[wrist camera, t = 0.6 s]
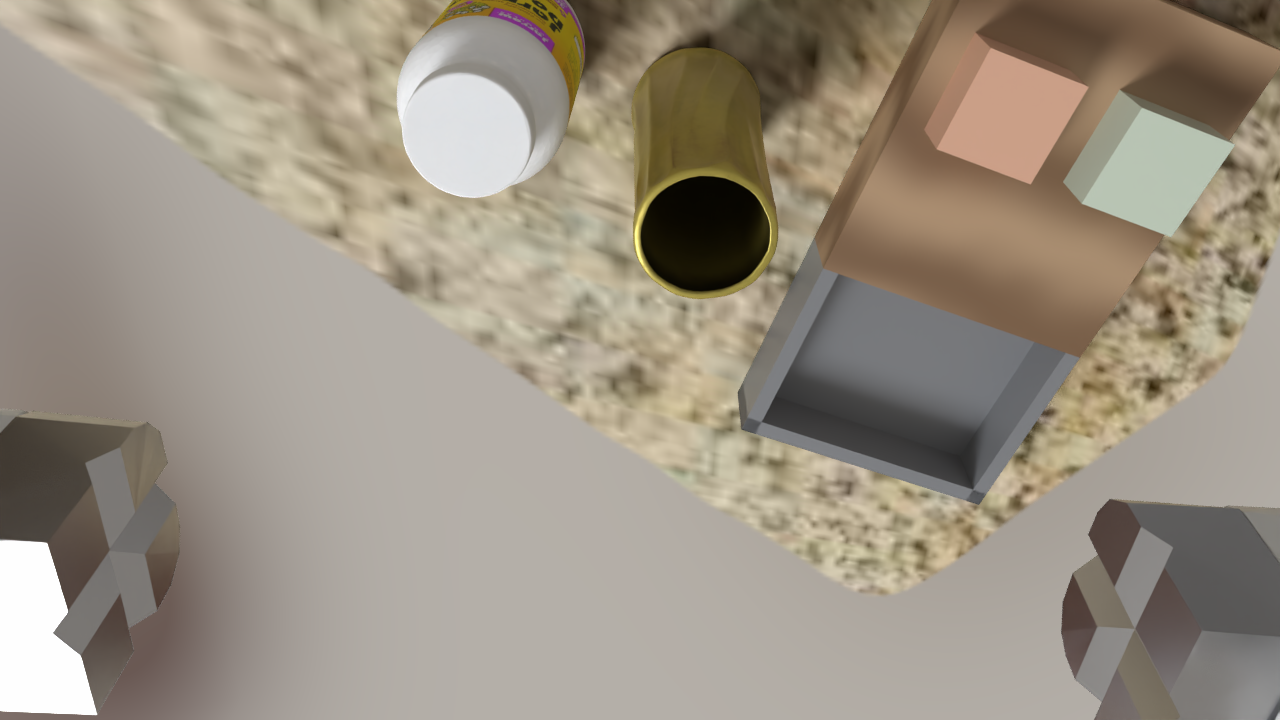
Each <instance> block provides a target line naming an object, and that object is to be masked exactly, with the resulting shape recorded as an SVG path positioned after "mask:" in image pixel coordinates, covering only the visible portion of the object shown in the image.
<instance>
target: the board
mask: <svg viewBox="0 0 1280 720" xmlns="http://www.w3.org/2000/svg"><path fill="white" fill-rule="evenodd" d="M975 32H976V33H978V34H981V35H983V36H986V37H988V38H991V39H993V40H996V41H998V42H1001V43H1003V44H1006V45H1008V46H1011V47H1013V48H1016V49H1018V50H1021V51H1023V52H1026V53H1028V54H1031V55H1033V56H1036V57H1039V58H1041V59H1044V60H1046V61H1049V62H1051V63H1054V64H1056V65H1059V66H1061V67H1064V68H1066V69H1069V70H1070V71H1071V72H1072V73H1073V74H1075V75H1076V76H1077V77H1078V78H1079V79H1080V80H1082V81H1083V82H1084V83H1085V84H1086V85H1087V86H1089V88H1088V89H1087V91H1086V93H1085V94H1084V96H1083V98H1082V99H1081V101H1080V103H1079V104H1078V106H1077V108H1076V109H1075V111H1074V113H1073V114H1072V116H1071V118H1070V119H1069V121H1068V123H1067V124H1066V126H1065V128H1064V129H1063V131H1062V133H1061V134H1060V136H1059V138H1058V140H1057V141H1056V143H1055V145H1054V146H1053V148H1052V150H1051V151H1050V153H1049V155H1048V156H1047V158H1046V160H1045V161H1044V163H1043V165H1042V166H1041V168H1040V170H1039V171H1038V173H1037V175H1036V176H1035V178H1034V180H1033V181H1032V183H1031V184H1028V183H1025V182H1023V181H1020V180H1017V179H1015V178H1012V177H1009V176H1007V175H1004V174H1001V173H999V172H996V171H993V170H991V169H988V168H985V167H983V166H980V165H977V164H975V163H972V162H969V161H967V160H964V159H961V158H959V157H956V156H953V155H951V154H948V153H945V152H943V151H940V150H937V149H936V148H935V146H934V144H933V143H932V141H931V140H930V138H929V136H928V135H927V133H926V132H925V130H924V129H925V127H926V125H927V123H928V121H929V119H930V118H931V116H932V114H933V112H934V110H935V108H936V106H937V104H938V102H939V100H940V98H941V97H942V95H943V93H944V91H945V89H946V87H947V85H948V83H949V81H950V79H951V77H952V76H953V74H954V72H955V70H956V68H957V66H958V64H959V62H960V60H961V58H962V56H963V55H964V53H965V51H966V49H967V47H968V45H969V43H970V41H971V39H972V37H973V35H974V34H975ZM1279 67H1280V50H1279V49H1278V48H1276V47H1274V46H1272V45H1270V44H1268V43H1266V42H1264V41H1262V40H1261V39H1259V38H1257V37H1255V36H1253V35H1251V34H1249V33H1247V32H1245V31H1242V30H1240V29H1237V28H1235V27H1233V26H1230V25H1228V24H1225V23H1223V22H1221V21H1218V20H1216V19H1213V18H1211V17H1209V16H1206V15H1204V14H1201V13H1199V12H1197V11H1194V10H1192V9H1189V8H1187V7H1185V6H1182V5H1180V4H1177V3H1175V2H1173V1H1170V0H932V1H931V3H930V5H929V7H928V9H927V11H926V13H925V15H924V17H923V19H922V21H921V23H920V25H919V27H918V29H917V32H916V34H915V36H914V38H913V40H912V42H911V44H910V46H909V48H908V50H907V52H906V54H905V56H904V58H903V60H902V62H901V64H900V66H899V68H898V70H897V72H896V74H895V76H894V78H893V80H892V82H891V84H890V86H889V88H888V90H887V92H886V94H885V96H884V98H883V100H882V102H881V104H880V106H879V108H878V110H877V112H876V114H875V116H874V118H873V120H872V122H871V124H870V127H869V129H868V131H867V133H866V135H865V137H864V139H863V141H862V143H861V145H860V147H859V149H858V151H857V153H856V155H855V157H854V159H853V161H852V163H851V165H850V167H849V169H848V171H847V173H846V175H845V177H844V179H843V181H842V183H841V185H840V187H839V189H838V191H837V193H836V195H835V197H834V199H833V201H832V203H831V205H830V207H829V209H828V211H827V213H826V215H825V217H824V219H823V222H822V224H821V226H820V228H819V230H818V232H817V234H816V236H815V241H816V245H817V248H818V252H819V255H820V259H821V262H822V266H823V269H826V270H829V271H832V272H835V273H838V274H840V275H843V276H846V277H849V278H852V279H855V280H858V281H861V282H863V283H866V284H869V285H872V286H875V287H878V288H881V289H884V290H886V291H889V292H892V293H895V294H898V295H901V296H904V297H907V298H909V299H912V300H915V301H918V302H921V303H924V304H927V305H930V306H932V307H935V308H938V309H941V310H944V311H947V312H950V313H953V314H955V315H958V316H961V317H964V318H967V319H970V320H973V321H976V322H978V323H981V324H984V325H987V326H990V327H993V328H996V329H998V330H1001V331H1004V332H1007V333H1010V334H1013V335H1016V336H1019V337H1021V338H1024V339H1027V340H1030V341H1033V342H1036V343H1039V344H1042V345H1044V346H1047V347H1050V348H1053V349H1056V350H1059V351H1062V352H1065V353H1067V354H1070V355H1073V356H1076V357H1079V358H1080V357H1081V355H1082V354H1083V352H1084V351H1085V350H1086V348H1087V347H1088V345H1089V344H1090V342H1091V341H1092V339H1093V338H1094V336H1095V335H1096V334H1097V332H1098V331H1099V329H1100V328H1101V326H1102V325H1103V323H1104V322H1105V320H1106V319H1107V318H1108V316H1109V315H1110V313H1111V312H1112V310H1113V309H1114V307H1115V306H1116V304H1117V303H1118V302H1119V300H1120V299H1121V297H1122V296H1123V294H1124V293H1125V291H1126V290H1127V288H1128V287H1129V286H1130V284H1131V283H1132V281H1133V280H1134V278H1135V277H1136V275H1137V274H1138V272H1139V271H1140V269H1141V268H1142V267H1143V265H1144V264H1145V262H1146V261H1147V259H1148V258H1149V256H1150V255H1151V253H1152V252H1153V251H1154V249H1155V248H1156V246H1157V245H1158V243H1159V242H1160V240H1161V239H1162V237H1163V236H1164V234H1161V233H1159V232H1156V231H1153V230H1151V229H1148V228H1145V227H1143V226H1140V225H1137V224H1135V223H1132V222H1129V221H1127V220H1124V219H1121V218H1119V217H1116V216H1113V215H1111V214H1108V213H1105V212H1103V211H1100V210H1097V209H1095V208H1092V207H1089V206H1087V205H1084V204H1082V203H1081V202H1080V201H1079V200H1078V199H1077V198H1076V196H1075V195H1074V194H1073V193H1072V192H1071V191H1070V190H1069V188H1068V187H1067V186H1066V185H1065V184H1064V183H1063V181H1064V180H1065V178H1066V176H1067V175H1068V173H1069V171H1070V170H1071V168H1072V167H1073V165H1074V163H1075V162H1076V160H1077V158H1078V157H1079V155H1080V153H1081V152H1082V150H1083V149H1084V147H1085V145H1086V144H1087V142H1088V140H1089V139H1090V137H1091V136H1092V134H1093V132H1094V131H1095V129H1096V127H1097V126H1098V124H1099V122H1100V121H1101V119H1102V118H1103V116H1104V114H1105V113H1106V111H1107V109H1108V108H1109V106H1110V105H1111V103H1112V101H1113V100H1114V98H1115V96H1116V95H1117V93H1118V91H1119V90H1122V91H1124V92H1127V93H1129V94H1132V95H1134V96H1137V97H1139V98H1142V99H1144V100H1147V101H1149V102H1152V103H1154V104H1157V105H1159V106H1162V107H1164V108H1167V109H1169V110H1172V111H1174V112H1177V113H1179V114H1182V115H1185V116H1187V117H1190V118H1192V119H1195V120H1197V121H1200V122H1202V123H1205V124H1207V125H1209V126H1211V127H1212V128H1213V129H1215V130H1216V131H1217V132H1219V133H1220V134H1221V135H1223V136H1224V137H1225V138H1227V139H1228V140H1230V138H1231V137H1232V136H1233V134H1234V133H1235V131H1236V130H1237V128H1238V127H1239V125H1240V124H1241V122H1242V121H1243V120H1244V118H1245V117H1246V115H1247V114H1248V112H1249V111H1250V109H1251V108H1252V106H1253V105H1254V104H1255V102H1256V101H1257V99H1258V98H1259V96H1260V95H1261V93H1262V92H1263V90H1264V89H1265V87H1266V86H1267V85H1268V83H1269V82H1270V80H1271V79H1272V77H1273V76H1274V74H1275V73H1276V71H1277V70H1278V69H1279Z"/></svg>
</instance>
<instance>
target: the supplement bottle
mask: <svg viewBox="0 0 1280 720" xmlns="http://www.w3.org/2000/svg"><path fill="white" fill-rule="evenodd" d="M584 62H585V42H584V35H583V31H582V28H581V25H580V22H579V20H578V18H577V16H576V14H575V12H574V10H573V9H572V7H571V6H570V4H569V3H568V2H567V0H453V1H452V2H451V3H450V4H449V6H448V7H447V8H446V9H445V10H444V12H443V13H442V14H441V15H440V16H439V18H438V19H437V20H436V21H435V22H434V24H433V25H432V26H431V27H430V28H429V30H428V31H427V32H426V33H425V34H424V35H423V36H422V38H421V39H420V40H419V41H418V42H417V43H416V45H415V46H414V47H413V49H412V50H411V51H410V53H409V54H408V56H407V58H406V60H405V62H404V64H403V67H402V69H401V73H400V76H399V80H398V87H397V108H398V114H399V119H400V123H401V125H402V136H403V142H404V146H405V149H406V152H407V155H408V157H409V158H410V160H411V162H412V164H413V165H414V167H415V168H416V169H417V171H418V172H419V173H420V174H421V175H422V176H423V177H424V178H425V179H426V180H427V181H428V182H429V183H431V184H432V185H434V186H435V187H437V188H439V189H440V190H442V191H444V192H447V193H450V194H453V195H456V196H460V197H470V198H477V197H485V196H489V195H493V194H496V193H498V192H500V191H502V190H504V189H506V188H507V187H509V186H511V185H514V184H517V183H520V182H522V181H524V180H526V179H528V178H530V177H532V176H533V175H535V174H536V173H537V172H539V171H540V170H541V169H542V168H543V167H545V166H546V164H547V163H548V162H549V161H550V160H551V159H552V158H553V156H554V155H555V153H556V152H557V150H558V149H559V147H560V145H561V142H562V140H563V138H564V135H565V132H566V129H567V126H568V122H569V118H570V115H571V112H572V108H573V105H574V101H575V97H576V94H577V90H578V86H579V83H580V79H581V76H582V72H583V67H584Z"/></svg>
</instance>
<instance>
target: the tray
mask: <svg viewBox="0 0 1280 720" xmlns="http://www.w3.org/2000/svg"><path fill="white" fill-rule="evenodd" d="M1078 360H1079V357H1076V356H1073V355H1070V354H1067V353H1065V352H1062V351H1059V350H1056V349H1053V348H1050V347H1047V346H1044V345H1042V344H1039V343H1036V342H1033V341H1030V340H1027V339H1024V338H1021V337H1019V336H1016V335H1013V334H1010V333H1007V332H1004V331H1001V330H998V329H996V328H993V327H990V326H987V325H984V324H981V323H978V322H976V321H973V320H970V319H967V318H964V317H961V316H958V315H955V314H953V313H950V312H947V311H944V310H941V309H938V308H935V307H932V306H930V305H927V304H924V303H921V302H918V301H915V300H912V299H909V298H907V297H904V296H901V295H898V294H895V293H892V292H889V291H886V290H884V289H881V288H878V287H875V286H872V285H869V284H866V283H863V282H861V281H858V280H855V279H852V278H849V277H846V276H843V275H840V274H838V273H835V272H832V271H829V270H826V269H823V266H822V262H821V259H820V255H819V252H818V248H817V245H816V241H815V238H814V240H813V242H812V244H811V246H810V248H809V250H808V252H807V254H806V256H805V258H804V260H803V262H802V264H801V266H800V268H799V270H798V272H797V274H796V276H795V278H794V280H793V282H792V284H791V286H790V288H789V290H788V292H787V294H786V296H785V298H784V300H783V302H782V304H781V306H780V308H779V310H778V312H777V315H776V317H775V319H774V321H773V323H772V325H771V327H770V329H769V331H768V333H767V335H766V337H765V339H764V341H763V343H762V345H761V347H760V349H759V351H758V353H757V355H756V357H755V359H754V361H753V363H752V365H751V367H750V369H749V371H748V373H747V375H746V377H745V379H744V381H743V383H742V385H741V387H740V389H739V391H738V401H739V410H740V420H741V429H742V430H745V431H748V432H751V433H754V434H758V435H761V436H764V437H767V438H770V439H773V440H777V441H780V442H783V443H786V444H789V445H792V446H795V447H799V448H802V449H805V450H808V451H811V452H814V453H818V454H821V455H824V456H827V457H830V458H833V459H836V460H840V461H843V462H846V463H849V464H852V465H855V466H859V467H862V468H865V469H868V470H871V471H874V472H877V473H881V474H884V475H887V476H890V477H893V478H896V479H900V480H903V481H906V482H909V483H912V484H915V485H918V486H922V487H925V488H928V489H931V490H934V491H937V492H941V493H944V494H947V495H950V496H953V497H956V498H959V499H963V500H966V501H969V502H972V503H975V504H978V505H979V504H980V502H981V501H982V500H983V498H984V497H985V495H986V494H987V492H988V491H989V489H990V488H991V486H992V485H993V484H994V482H995V481H996V479H997V478H998V476H999V475H1000V473H1001V472H1002V470H1003V469H1004V467H1005V466H1006V465H1007V463H1008V462H1009V460H1010V459H1011V457H1012V456H1013V454H1014V453H1015V451H1016V450H1017V449H1018V447H1019V446H1020V444H1021V443H1022V441H1023V440H1024V438H1025V437H1026V435H1027V434H1028V433H1029V431H1030V430H1031V428H1032V427H1033V425H1034V424H1035V422H1036V421H1037V419H1038V418H1039V417H1040V415H1041V414H1042V412H1043V411H1044V409H1045V408H1046V406H1047V405H1048V403H1049V402H1050V401H1051V399H1052V398H1053V396H1054V395H1055V393H1056V392H1057V390H1058V389H1059V387H1060V386H1061V385H1062V383H1063V382H1064V380H1065V379H1066V377H1067V376H1068V374H1069V373H1070V371H1071V370H1072V368H1073V367H1074V366H1075V364H1076V363H1077V361H1078Z"/></svg>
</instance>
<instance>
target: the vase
mask: <svg viewBox="0 0 1280 720" xmlns="http://www.w3.org/2000/svg"><path fill="white" fill-rule="evenodd" d="M632 123H633V127H634V130H635V134H634V181H635V213H634V221H633V243H634V249H635V253H636V256H637V258H638V260H639V262H640V264H641V266H642V267H643V269H644V270H645V272H646V273H647V274H648V276H649V277H650V278H651V279H652V280H654V281H655V282H656V283H658V284H659V285H660V286H662V287H663V288H665V289H667V290H668V291H670V292H672V293H674V294H676V295H679V296H683V297H687V298H693V299H706V298H715V297H722V296H727V295H730V294H733V293H735V292H737V291H739V290H741V289H743V288H745V287H747V286H749V285H750V284H752V283H753V282H754V281H755V280H757V278H758V277H759V276H760V275H761V274H762V272H763V271H764V270H765V268H766V267H767V265H768V264H769V262H770V261H771V259H772V257H773V255H774V253H775V250H776V247H777V241H778V222H777V215H776V206H775V203H774V198H773V193H772V188H771V184H770V179H769V173H768V169H767V164H766V157H765V151H764V143H763V135H762V126H761V107H760V93H759V90H758V88H757V85H756V83H755V81H754V80H753V78H752V76H751V74H750V73H749V71H748V70H747V69H746V68H745V67H744V66H743V65H742V64H741V63H740V62H739V61H737V60H736V59H735V58H733V57H731V56H730V55H728V54H726V53H725V52H722V51H720V50H716V49H711V48H700V47H698V48H686V49H680V50H677V51H674V52H672V53H670V54H668V55H666V56H664V57H662V58H661V59H659V60H658V61H656V62H655V63H654V64H653V65H652V66H650V67H649V68H648V70H647V71H646V72H645V73H644V75H643V76H642V78H641V79H640V81H639V83H638V85H637V88H636V90H635V93H634V96H633V101H632Z"/></svg>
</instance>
